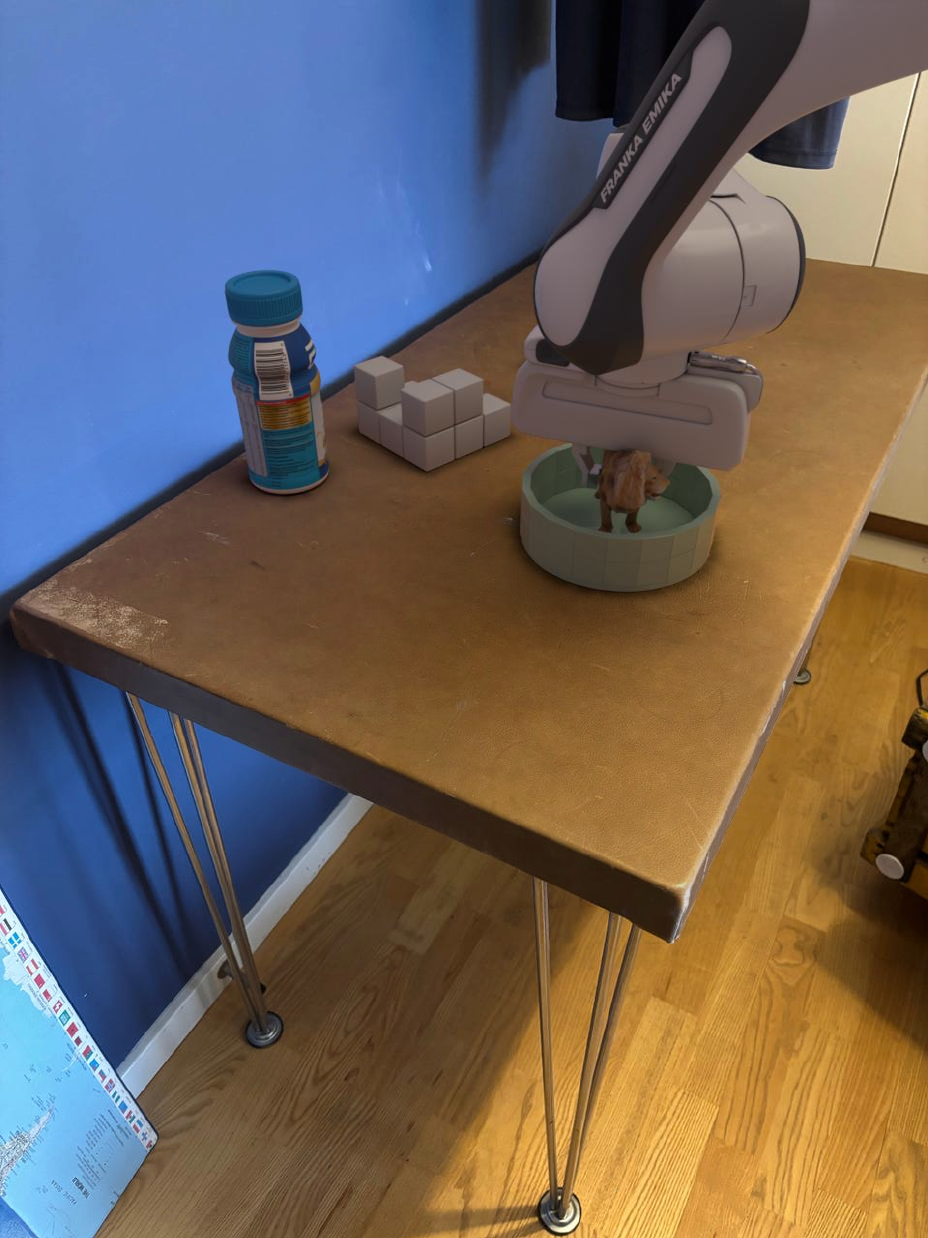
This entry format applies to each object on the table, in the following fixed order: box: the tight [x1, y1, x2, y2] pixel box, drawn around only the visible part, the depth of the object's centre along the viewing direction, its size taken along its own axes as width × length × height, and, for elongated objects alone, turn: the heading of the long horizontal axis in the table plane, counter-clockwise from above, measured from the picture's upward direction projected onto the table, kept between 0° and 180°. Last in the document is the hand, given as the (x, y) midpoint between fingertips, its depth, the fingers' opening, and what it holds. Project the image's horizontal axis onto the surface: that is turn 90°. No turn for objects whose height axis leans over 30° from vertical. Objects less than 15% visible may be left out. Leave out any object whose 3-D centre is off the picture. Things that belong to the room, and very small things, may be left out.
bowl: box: [519, 442, 723, 593], centre depth 83 cm, size 18×18×6 cm
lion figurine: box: [595, 449, 670, 533], centre depth 81 cm, size 15×5×9 cm, turn 2°
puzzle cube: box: [353, 355, 512, 472], centre depth 99 cm, size 12×12×8 cm
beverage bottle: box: [224, 269, 330, 495], centre depth 88 cm, size 8×8×20 cm
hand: (619, 491), depth 82 cm, fingers closed on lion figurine, 4 cm apart
